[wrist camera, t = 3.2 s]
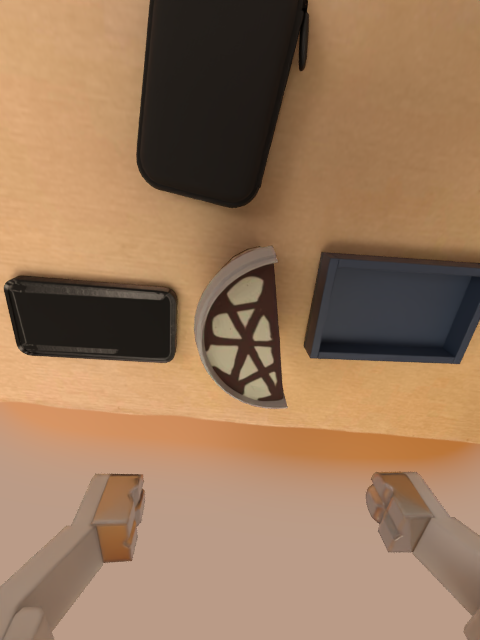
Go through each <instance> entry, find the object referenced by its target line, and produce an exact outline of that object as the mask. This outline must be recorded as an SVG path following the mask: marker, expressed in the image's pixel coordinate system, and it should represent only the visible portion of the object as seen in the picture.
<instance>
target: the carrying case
mask: <svg viewBox="0 0 480 640" xmlns="http://www.w3.org/2000/svg"><path fill="white" fill-rule="evenodd" d="M307 6H308V0H150V5H149V17H148V28H147V40H146V51H145V63H144V74H143V85H142V96H141V107H140V118H139V129H138V140H137V154H136V155H137V165H138V168H139V171H140V173H141V175H142V177H143V178H144V179H145V180H146V182H147V183H149V184H150V185H151V186H152V187H154V188H156V189H159V190H162V191H166V192H170V193H174V194H178V195H182V196H186V197H190V198H193V199H197V200H201V201H205V202H209V203H213V204H217V205H221V206H225V207H229V208H237V207H241V206H244V205H246V204H248V203H249V202H250V201H251V200H252V199H253V198H254V197H255V196H256V194H257V192H258V190H259V188H260V187H261V183H262V178H263V174H264V170H265V166H266V162H267V158H268V154H269V150H270V146H271V142H272V138H273V135H274V131H275V127H276V123H277V119H278V115H279V111H280V107H281V103H282V99H283V95H284V91H285V87H286V83H287V79H288V75H289V71H290V67H291V63H292V59H293V55H294V52H295V48H296V44H297V40H298V36H299V32H300V38H299V60H298V63H299V70H300V71H303V70H304V68H305V64H306V59H307V48H308V33H309V14H308V13H307Z"/></svg>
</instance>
